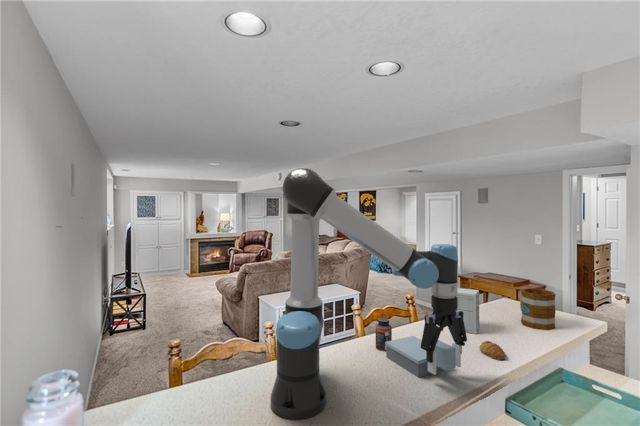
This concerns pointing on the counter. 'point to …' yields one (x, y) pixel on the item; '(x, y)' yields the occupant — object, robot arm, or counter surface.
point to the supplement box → (469, 308)
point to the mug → (538, 308)
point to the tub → (409, 363)
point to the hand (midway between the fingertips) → (444, 368)
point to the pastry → (492, 350)
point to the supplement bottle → (383, 333)
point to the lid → (414, 352)
